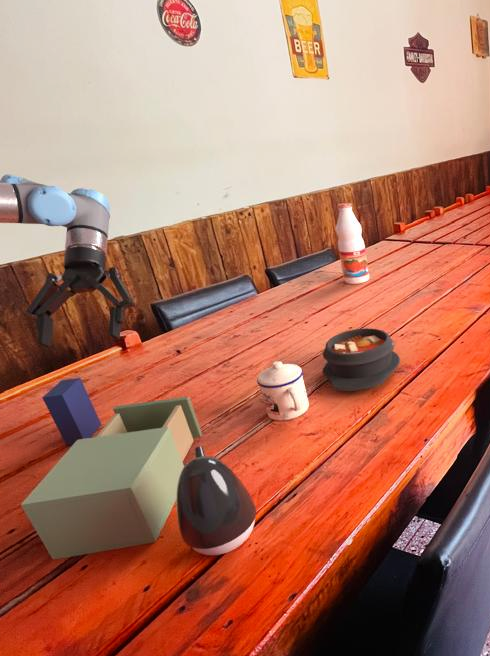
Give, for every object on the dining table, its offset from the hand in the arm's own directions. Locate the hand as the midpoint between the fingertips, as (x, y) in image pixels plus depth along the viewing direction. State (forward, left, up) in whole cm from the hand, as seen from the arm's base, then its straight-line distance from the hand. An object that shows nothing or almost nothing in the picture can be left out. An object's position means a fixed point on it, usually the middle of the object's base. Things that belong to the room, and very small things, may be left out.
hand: (79, 341), depth 108 cm
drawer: (+19, -24, -16) cm, 34 cm away
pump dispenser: (+37, -49, -17) cm, 64 cm away
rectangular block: (0, -11, -17) cm, 20 cm away
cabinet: (+19, -39, -17) cm, 46 cm away
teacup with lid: (+42, -14, -17) cm, 47 cm away
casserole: (+57, +1, -17) cm, 59 cm away
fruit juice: (+54, +76, -17) cm, 95 cm away
